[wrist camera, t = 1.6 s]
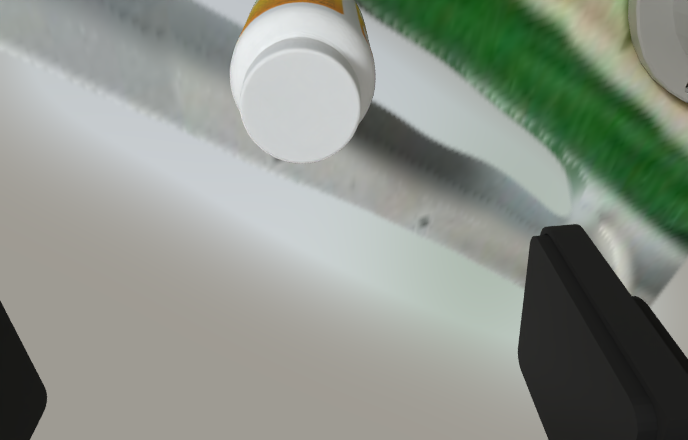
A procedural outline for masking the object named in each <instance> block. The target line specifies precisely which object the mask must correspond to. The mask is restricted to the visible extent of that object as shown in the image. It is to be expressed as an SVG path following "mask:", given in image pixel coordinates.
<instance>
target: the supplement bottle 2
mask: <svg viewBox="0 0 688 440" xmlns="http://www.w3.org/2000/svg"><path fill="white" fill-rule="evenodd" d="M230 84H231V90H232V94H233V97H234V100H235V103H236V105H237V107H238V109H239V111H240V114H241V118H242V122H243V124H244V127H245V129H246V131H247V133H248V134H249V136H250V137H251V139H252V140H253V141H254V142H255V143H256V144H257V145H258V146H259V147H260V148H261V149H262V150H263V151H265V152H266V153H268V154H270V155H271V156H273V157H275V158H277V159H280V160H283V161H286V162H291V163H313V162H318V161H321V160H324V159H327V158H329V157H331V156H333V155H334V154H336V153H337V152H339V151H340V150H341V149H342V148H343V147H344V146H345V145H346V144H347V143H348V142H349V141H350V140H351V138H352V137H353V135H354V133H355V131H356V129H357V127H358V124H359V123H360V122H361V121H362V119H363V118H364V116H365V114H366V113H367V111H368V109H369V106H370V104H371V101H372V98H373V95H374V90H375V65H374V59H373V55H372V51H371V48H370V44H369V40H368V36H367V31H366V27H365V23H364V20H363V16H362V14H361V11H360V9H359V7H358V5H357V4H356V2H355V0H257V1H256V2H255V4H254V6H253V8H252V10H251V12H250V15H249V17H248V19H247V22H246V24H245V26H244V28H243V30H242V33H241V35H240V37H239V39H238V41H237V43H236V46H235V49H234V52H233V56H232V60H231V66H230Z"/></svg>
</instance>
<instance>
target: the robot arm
mask: <svg viewBox="0 0 688 440" xmlns="http://www.w3.org/2000/svg"><path fill="white" fill-rule="evenodd" d="M628 20H629V26H630V32H631V38H632V43H633V45H634V48H635V50H636V52H637V55H638V57H639V60H640V62H641V64H642V65H643V66H644V68H645V69H646V70H647V72H648V73H649V74H650V76H651V77H652V78H653V79H654V80H655V81H656V82H657V83H658V84H660V85H661V86H662V87H663V88H665V89H666V90H667V91H668V92H670V93H671V94H673V95H675V96H676V97H678V98H679V99H681V100H683V101H685V102H687V103H688V0H629V9H628ZM521 319H522V320H521V327H520V336H519V345H518V359H519V365H520V368H521V371H522V374H523V376H524V379H525V381H526V384H527V386H528V389H529V392H530V394H531V397H532V399H533V402H534V404H535V407H536V409H537V412H538V414H539V417H540V419H541V422H542V424H543V427H544V429H545V432H546V434H547V437H548V439H549V440H688V359H687V357H686V356H685V355H684V353H683V352H682V351H681V349H680V348H679V346H678V345H677V344H676V342H675V341H674V340H673V338H672V337H671V336H670V334H669V333H668V332H667V330H666V329H665V328H664V326H663V325H662V324H661V322H660V321H659V319H658V318H657V317H656V315H655V314H654V313H653V312H652V310H651V309H650V307H649V306H648V305H647V304H646V303H645V302H644V301H643V300H642V299H641V298H639V297H636V296H631V295H630V293H629V292H628V291H627V289H626V288H625V286H624V285H623V284H622V282H621V281H620V279H619V278H618V277H617V275H616V274H615V273H614V271H613V270H612V268H611V267H610V266H609V264H608V263H607V261H606V260H605V259H604V257H603V256H602V254H601V253H600V252H599V250H598V249H597V247H596V246H595V245H594V243H593V242H592V240H591V239H590V238H589V236H588V235H587V234H586V232H585V231H584V229H583V228H582V227H581V226H580V225H577V224H573V225H561V226H550V227H544V228H543V229H542V231H541V234H540V236H533V237H532V239H531V242H530V248H529V257H528V266H527V275H526V283H525V292H524V301H523V310H522V318H521ZM46 403H47V393H46V390H45V387H44V385H43V383H42V381H41V379H40V377H39V375H38V373H37V372H36V369H35V368H34V365H33V363H32V362H31V360H30V358H29V356H28V354H27V352H26V350H25V348H24V346H23V344H22V342H21V340H20V338H19V336H18V334H17V332H16V330H15V328H14V327H13V324H12V323H11V321H10V319H9V317H8V315H7V313H6V311H5V309H4V307H3V305H2V303H1V301H0V440H30V438H31V436H32V434H33V432H34V430H35V428H36V426H37V424H38V422H39V420H40V418H41V416H42V414H43V412H44V410H45V407H46Z"/></svg>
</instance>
